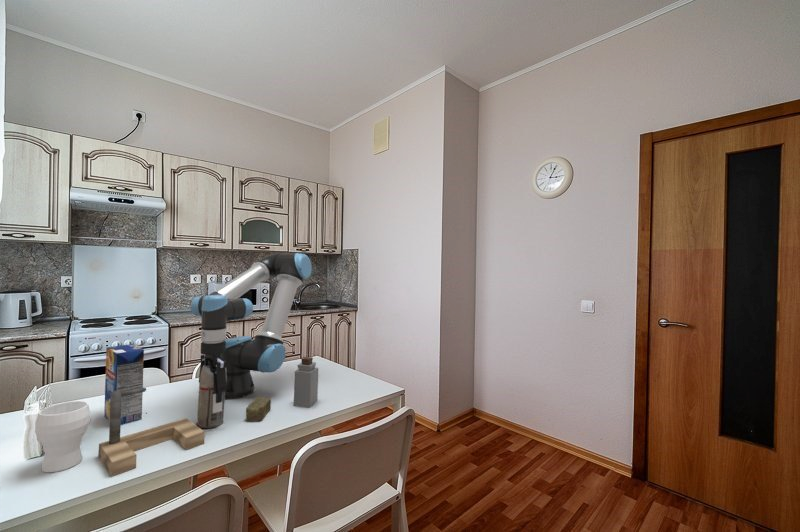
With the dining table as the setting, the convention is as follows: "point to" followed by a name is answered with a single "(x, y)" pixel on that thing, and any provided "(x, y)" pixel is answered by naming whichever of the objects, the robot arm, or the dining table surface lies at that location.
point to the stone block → (258, 408)
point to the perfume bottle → (306, 383)
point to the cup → (62, 434)
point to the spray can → (208, 401)
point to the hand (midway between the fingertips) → (211, 408)
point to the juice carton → (124, 380)
